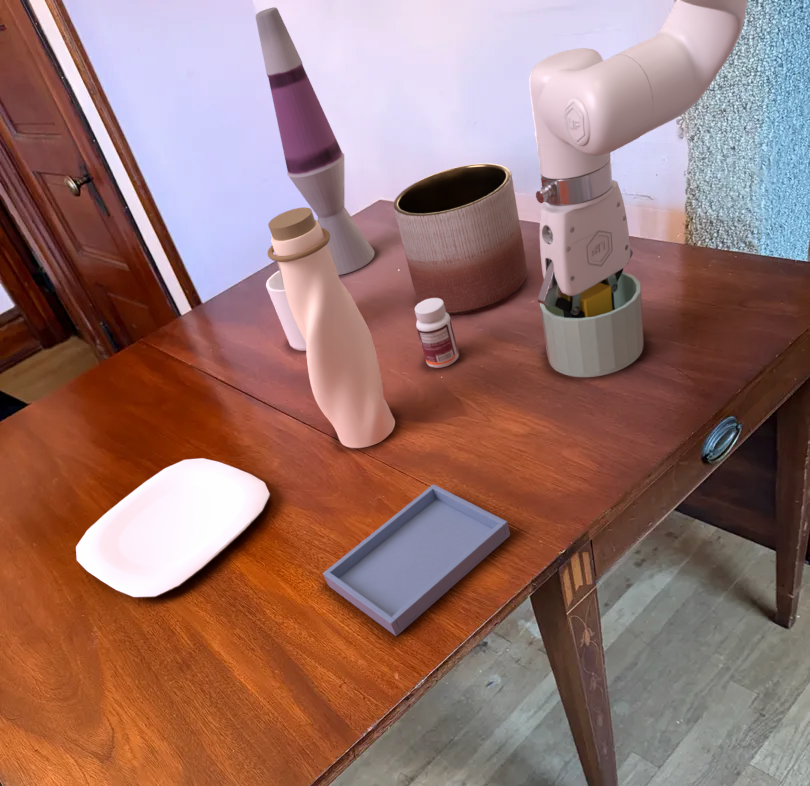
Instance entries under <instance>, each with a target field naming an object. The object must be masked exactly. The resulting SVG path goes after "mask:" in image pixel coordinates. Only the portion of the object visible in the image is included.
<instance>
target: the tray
mask: <svg viewBox="0 0 810 786" xmlns="http://www.w3.org/2000/svg"><path fill="white" fill-rule="evenodd" d="M509 537H511V532H510V527H509V523H508V521H507V520H505V519H503V518H502V517H499V516H498V515H495V514H493V513H491V512H489V511H487V510H485V509H484V508H481V507H479V506H478V505H475V504H474V503H472V502H470V501H467V500H465V499H463V498H461V497H459V496H458V495H456V494H454V493H452V492H450V491H449V490H448V491H447V490H446V489H444V488H442V487H440V486H438V485H436V484H434V483H433V484H431V485H430V486H429V487H428V488H426V489H425V490H424V491H423V492H421V493H420V494H419V495H418V496H416V497H415V498H414V499H413V500H411V501H410V502H409V503H408V504H407V505H405V506H404V507H403V508H402V509H401V510H399V511H398V512H397V513H396V514H394V515H393V516H392V517H391V518H390V519H388V520H387V521H386V522H384V523H383V524H382V525H381V526H380V527H378V528H377V529H375V531H373V532H372V533H371V534H369V535H368V536H367V537H365V538H364V539H363V540H362V541H361V542H360V543H358V544H357V545H356V546H354V548H352V549H351V550H349V551H348V552H347V553H346V554H345V555H344V556H342V557H341V558H340V559H339V560H337V561H336V562H335V563H334V564H332V565H331V566H330V567H328V568H327V569H325V571H323V572H322V576H323V577H324V579H325V581H326V584H327V586H328V587H329V588H330V589H332V590H333V591H335V592H336V593H337V594H338V595H340V596H341V597H342V598H344V599H345V600H346V601H348V602H349V603H350V604H352V605H353V606H355V608H357V609H359V610H360V611H362V612H363V613H364V614H365V615H367V616H368V617H369V618H371V619H372V620H374V621H375V622H376V623H377V624H379V625H380V626H381V627H383V628H384V629H385V630H387V631H388V632H389V633H391V634H392V635H394V636H395V637H397V636H399V635H400V634H401V633H402V632H403V631H405V630H406V629H407V628H408V627H409V626H410V625H411V624H412V623H413V622H414V621H416V620H417V619H418V618H419V617H420V616H421V615H423V614H424V613H425V612H426V611H427V610H428V609H429V608H430V607H431V606H433V605H434V604H435V603H436V602H437V601H438V600H439V599H440V598H441V597H443V596H444V595H445V594H446V593H447V592H449V591H450V589H453V587H455V585H456V584H457V583H459V582H460V581H461V580H462V579H463V578H465V576H467V575H468V574H469V573H470V572H471V571H472V570H473V569H474V568H475V567H477V566H478V565H479V564H480V563H481V562H482V561H484V560H485V559H486V558H487V557H488V556H489V555H490V554H491V553H493V551H495V550H496V549H497V548H498V547H499V546H500V545H501V544H503V543H504V542H505V541H506V540H507V539H508V538H509Z"/></svg>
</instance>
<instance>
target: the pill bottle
mask: <svg viewBox="0 0 810 786" xmlns="http://www.w3.org/2000/svg"><path fill="white" fill-rule="evenodd" d="M414 314H415V317H416V324H415V329H416V330H417V334H418V338H419V341H420V345H421V348H422V352H423V355H424V359H425V362H426V364H427V366H429V367H431V368H435V369H436V368H437V369H443V368H445V367H449V366H450V365H453V364H454V363H455V362H456V361H457V360H458V359H459V356H460V352H459V347H458V345H457V340H456V336H455V331H454V328H453V323H452V319H451V316H450V314H448V313H447V312H446V310H445V306H444V302H443V300H442V299H439V298H430V299H426V300H424V301H422V302H420V303H419V302H418V303H417V304H416V305H415V306H414Z"/></svg>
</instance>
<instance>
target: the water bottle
mask: <svg viewBox="0 0 810 786" xmlns="http://www.w3.org/2000/svg"><path fill="white" fill-rule="evenodd" d="M267 226H268V228H269V231H270V234H271V235H270V242H271V246H269V248H268V250H267V257H268V258H269V259H270V260H271V261H274V262H276V263H277V266H278V271H280V274H281V278H282V282H283V286H284V290H285V294H286V297H287V300H288V303H289V306H290V309H291V312H292V314H293V317H294V319H295V321H296V324H297V326H298V328H299V330H300V332H301V334H302V336H303V338H304V340H305V342H306V344H307V350H306V351H305V352H306V363H307V372H308V379H309V382H310V388H311V391H312V394H313V397H314V400H315V403H316V404H317V406H318V408H319V409H320V411H321V412H322V414H323V415H324V416H325V418H326V419H327V420H328V421H329V422H330V424H331V425H332V427H333V428H334V431H335V433H336V434H337V438H338V440H339V442H340V443H341V445H343V446H344V447H347V448H350V449H362V448H363V449H364V448H368V447H371V446H375V445H377V444H379V443H381V442H382V441H384V440H385V439H386V438H388V437H389V435H390V434H391V433H392V432H393V430H394V428H395V425H396V420H395V418H394V416H393V413H392V412H391V409H390V407H389V405H388V403H387V400H386V399H385V396H384V387H383V378H382V373H381V367H380V364H379V359H378V355H377V354H378V353H377V350H376V348H375V344H374V340H373V338H372V333H371V331H370V329H369V327H368V323H367V322H366V320H365V319H364V317H363V315H362V313H361V312H360V310H359V308H358V306H357V304H356V302H355V300H354V298H353V296H352V295H351V293H350V292H349V290H348V288H347V287H346V286H345V285H344V283H343V282H342V281H341V279H340V275H338V273H337V270H336V268H335V265H334V262H333V260H332V257H331V254H330V251H329V249H328V246H327V244H328V242H329V240H330V234H329V232H328V231H327V230H326V229H324V228H321V227H320V225H319V223H318V219H315V217H314V214H313V209H312V208H311V207H296V208H292V209H289V210H287V211H284V212H282V213H279V214H278V215H275V217H273V218H272V219H271V220H270V221H269V222H268V224H267ZM324 236H325V237H324Z"/></svg>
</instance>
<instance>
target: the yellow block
mask: <svg viewBox="0 0 810 786" xmlns="http://www.w3.org/2000/svg"><path fill="white" fill-rule="evenodd" d="M568 301H570V296H569V295H568ZM580 311H583V312H584V316H585V317H594V316H598V315H601V314H605V313H608V312H611V311H612V297H611V287H610V286H608V285H605V284H602V283H598V284H596V285H594V286H592V287H591V288H589V289H587V290H585V291H583V292H582V293H581V301H580Z"/></svg>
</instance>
